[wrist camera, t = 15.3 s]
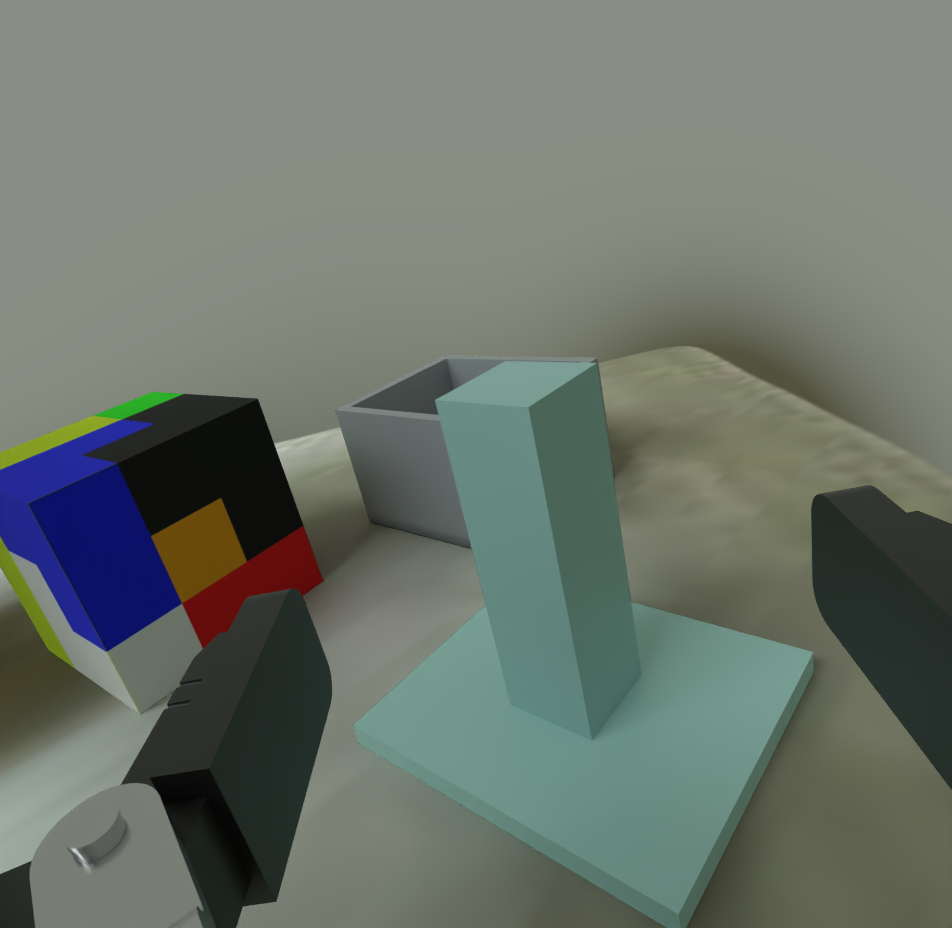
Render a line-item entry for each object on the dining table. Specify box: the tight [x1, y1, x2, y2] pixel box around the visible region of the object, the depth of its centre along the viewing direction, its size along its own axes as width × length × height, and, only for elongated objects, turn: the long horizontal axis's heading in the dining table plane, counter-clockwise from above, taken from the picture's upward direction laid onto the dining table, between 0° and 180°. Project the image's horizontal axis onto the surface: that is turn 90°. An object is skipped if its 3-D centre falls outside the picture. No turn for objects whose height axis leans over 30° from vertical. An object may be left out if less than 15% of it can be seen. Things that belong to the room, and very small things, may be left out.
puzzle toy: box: [0, 392, 323, 715], centre depth 33 cm, size 10×10×10 cm
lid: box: [353, 361, 814, 928], centre depth 21 cm, size 12×10×12 cm
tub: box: [335, 355, 615, 549], centre depth 38 cm, size 11×9×7 cm
